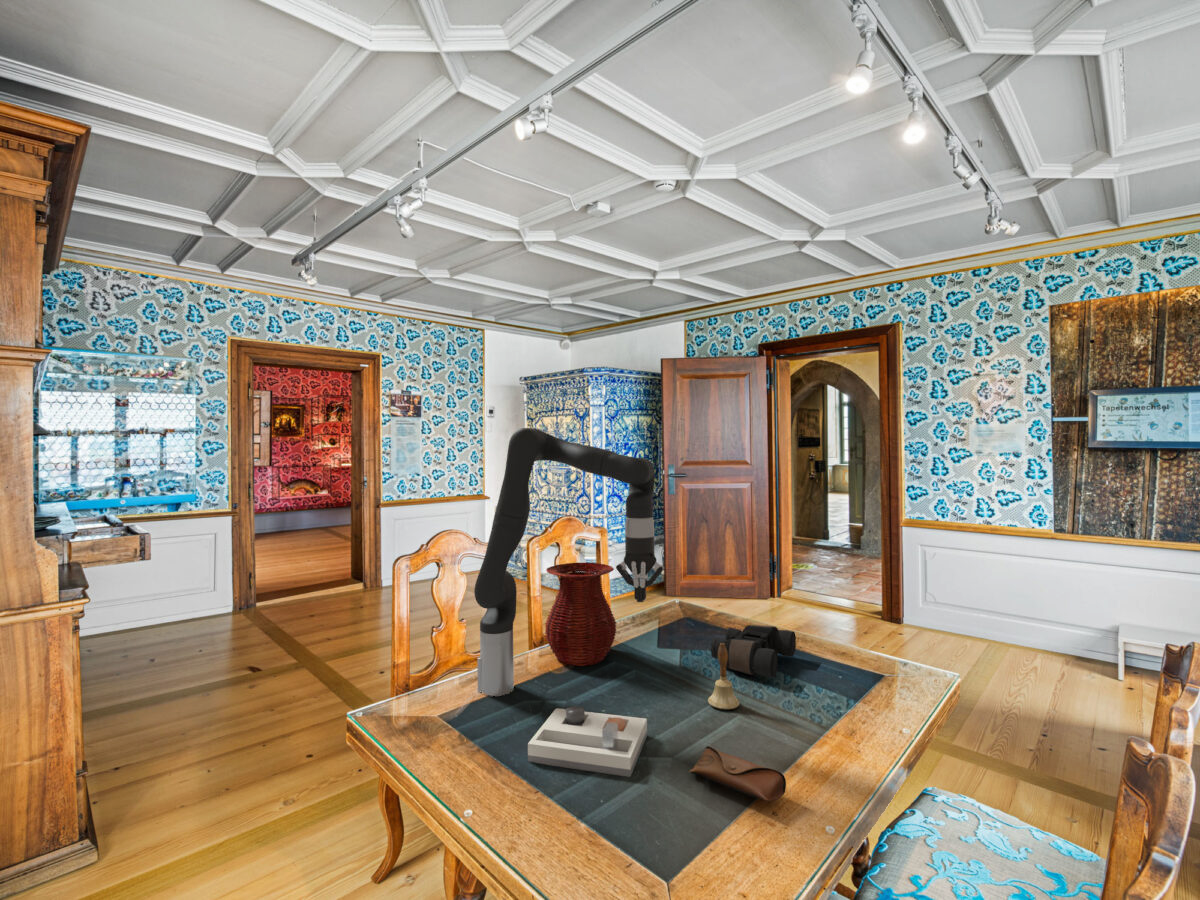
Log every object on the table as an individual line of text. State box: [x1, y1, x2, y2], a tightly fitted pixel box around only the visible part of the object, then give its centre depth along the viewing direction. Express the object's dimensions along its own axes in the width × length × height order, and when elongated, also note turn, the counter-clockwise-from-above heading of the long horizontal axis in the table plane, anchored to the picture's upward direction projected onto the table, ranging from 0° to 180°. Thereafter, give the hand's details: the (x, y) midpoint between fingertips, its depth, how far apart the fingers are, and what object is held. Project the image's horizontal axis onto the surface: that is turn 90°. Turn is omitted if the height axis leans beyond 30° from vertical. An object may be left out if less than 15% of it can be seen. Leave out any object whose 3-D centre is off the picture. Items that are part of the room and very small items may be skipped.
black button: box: [565, 705, 585, 725], centre depth 136 cm, size 4×4×3 cm
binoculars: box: [710, 624, 797, 679], centre depth 182 cm, size 29×20×10 cm
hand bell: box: [707, 643, 740, 710], centre depth 153 cm, size 8×8×16 cm
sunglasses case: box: [688, 746, 787, 803], centre depth 115 cm, size 18×7×7 cm
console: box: [527, 708, 648, 778], centre depth 130 cm, size 23×18×4 cm
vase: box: [544, 562, 618, 667], centre depth 186 cm, size 23×24×30 cm
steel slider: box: [602, 722, 618, 751], centre depth 124 cm, size 2×4×6 cm, turn 164°
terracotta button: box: [606, 717, 625, 731], centre depth 133 cm, size 4×4×3 cm
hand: (640, 601), depth 147 cm, fingers closed
